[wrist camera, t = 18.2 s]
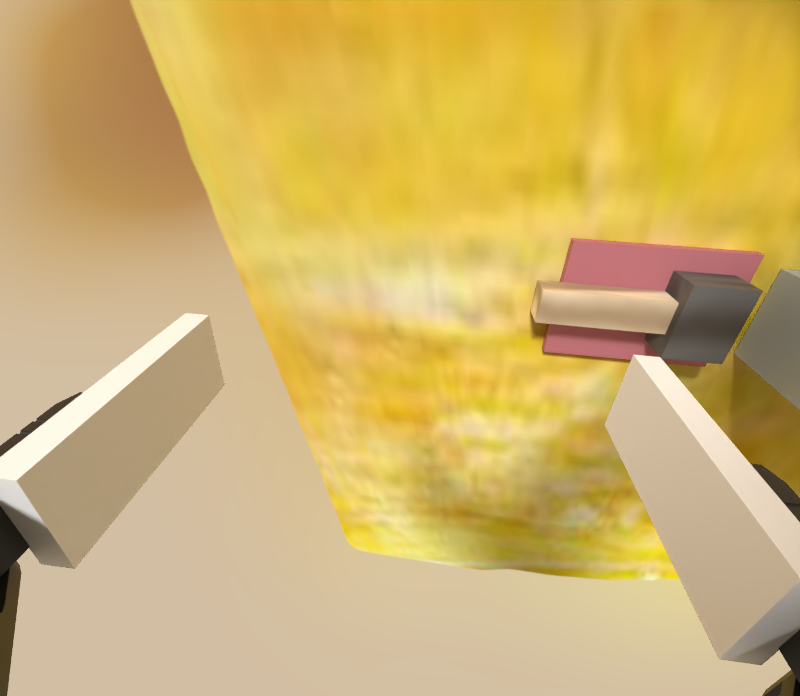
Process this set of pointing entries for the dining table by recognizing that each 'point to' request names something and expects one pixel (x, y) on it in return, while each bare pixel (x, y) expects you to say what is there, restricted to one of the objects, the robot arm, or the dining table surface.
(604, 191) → the dining table surface
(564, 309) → the stamp
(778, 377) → the pedestal
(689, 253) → the mat
